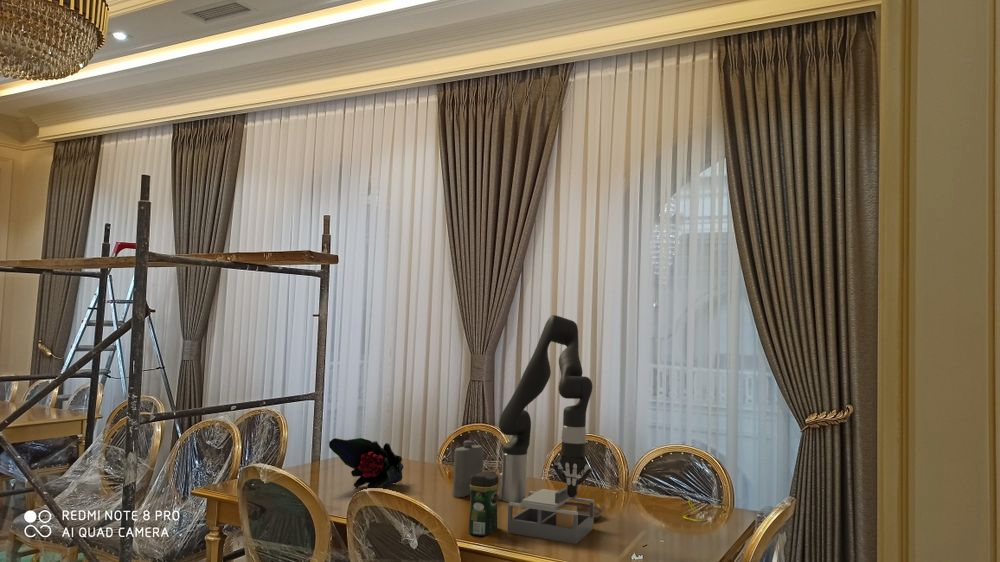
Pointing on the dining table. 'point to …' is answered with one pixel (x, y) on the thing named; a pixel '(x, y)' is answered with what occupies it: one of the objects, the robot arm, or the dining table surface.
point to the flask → (466, 467)
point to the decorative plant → (369, 461)
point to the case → (550, 523)
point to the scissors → (693, 510)
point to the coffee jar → (483, 503)
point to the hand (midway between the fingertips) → (572, 497)
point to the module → (565, 516)
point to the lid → (546, 499)
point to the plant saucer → (586, 509)
